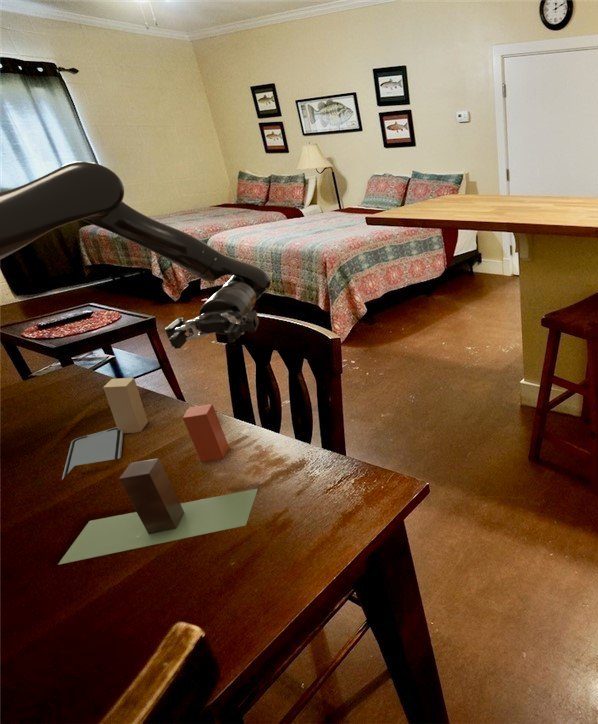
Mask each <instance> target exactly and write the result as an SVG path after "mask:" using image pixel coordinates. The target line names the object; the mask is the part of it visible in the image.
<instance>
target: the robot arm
mask: <svg viewBox="0 0 598 724" xmlns="http://www.w3.org/2000/svg"><path fill="white" fill-rule="evenodd" d="M124 198H125V186H124V184H123V181H122V179H121V178H120V177H119V176H118V175H117V174H116V172H114V171H113V170H112V169H110V168H109V167H106V166H104V165H101V164H99V163H96V162H91V161H72V162H68V163H66V164H64V165H62V166H60V167H59V168H56V169H55V170H53V171H51V172H49V173H47V174H44V175H43V176H41V177H39V178H36V179H34V180H32V181H29V182H27V183H25V184H22V185H20V186H18V187H14V188H11V189H7V190H5V191H1V192H0V260H2V259H4V258H6V257H8V256H9V255H12V254H13V253H15V252H17V251H19V250H21V249H22V248H24V247H26V246H28V245H29V244H31V243H32V242H34V241H36V240H37V239H39V238H41V237H42V236H44V235H45V234H47V233H49V232H51V231H53V230H55V229H58V228H60V227H62V226H65V225H69V224H71V223H75V222H77V221H83V222H86V223H88V224H91V225H93V226H96V227H98V228H101V229H103V230H106V231H108V232H111V233H113V234H114V235H117V236H120V237H122V238H124V239H125V240H128V241H130V242H133V243H135V244H137V245H138V246H141V247H142V248H145V249H147V250H149V251H150V252H153V253H155V254H156V255H159V256H160V257H162V258H164V259H166V260H168V261H170V262H171V263H173V264H174V265H176V266H178V267H180V268H182V269H184V270H185V271H187V272H189V273H190V274H193V275H194V276H196V277H198V278H200V279H202V280H203V281H205V282H215V281H218V280H219V279H221V278H223V277H225V276H231V277H230V279H229V280H227V282H225V284H223V286H222V287H221V288H220V289H218V291H216V292H215V293H213V294H212V295H211V296H210V297H209V298H208V299H207V300H206V301H205V302H204V304H202V305H201V307H200V310H199V314H198V316H197V317H194V318H192V319H189V320H186V321H185V318H184V317H178V318H176V319H174V321H172V322H171V323H170V324H169V325H168V326H166V327H165V328H164V331H165V333H166V336H167V338H168V341H169V342H170V344H171V347H173V349H175V350H177V349H178V350H179V349H181V348H182V347H183V346H184V345H185V344H186V343H187V341H189V340H191V339H194V340H195V339H196V340H198V339H201V338H204V337H206V336H208V335H214V334H217V335H226V338H227V340H228V343H235V342H236V340H238V339H239V338H241V336H243V335H245V332H248V333H249V334H252V333H255V332H257V329H258V327H259V324H260V320H259V315H258V313H257V310H253V308H254V307H255V305H256V303H257V301H258V300H259V299H260V297H262V296H263V295H264V293H266V292H267V291H268V289H270V287H271V285H272V279H271V278H270V276H269V274H268V273H267V272H266V271H265V270H264V269H262V268H261V267H259V266H257V265H255V264H251V263H248V262H245V261H242V260H239V259H236V258H234V257H231V256H228V255H226V254H223V253H222V252H220V251H218V250H216V249H215V248H213V247H212V246H210V245H209V244H207V243H206V242H204V241H202V240H200V239H199V238H197V237H195V236H193V235H191V234H190V233H187V232H185V231H183V230H180V229H179V228H175V227H173V226H170V225H167V224H165V223H162V222H160V221H158V220H155V219H153V218H151V217H149V216H147V215H145V214H143V213H141V212H139V210H136V209H134V208H133V207H131V206H129V205H128V204H127V203H125V202H124ZM186 333H188V334H186Z"/></svg>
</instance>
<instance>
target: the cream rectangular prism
mask: <svg viewBox="0 0 598 724" xmlns="http://www.w3.org/2000/svg"><path fill="white" fill-rule="evenodd" d="M103 391H104V394H105V397H106V400H107V402H108V406H109V408H110V411H111V414H112V417H113V420H114V423H115V425H116V426H115V427H117V429H118V430H122V431H123V434H135V433H141V432H142V431H143V430H144V429H145V427H146V426H147V425H148V423H149V422H148V418H147V415H146V412H145V408H144V405H143V402H142V399H141V395H140V392H139V389H138V387H137V383H136V379H135V377H122V378H121V377H120V378H119V377H118V378H111V379H110V380H109V381H108V382H107V383H106V384H105V385H104V386H103Z"/></svg>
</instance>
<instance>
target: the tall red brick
mask: <svg viewBox="0 0 598 724" xmlns="http://www.w3.org/2000/svg"><path fill="white" fill-rule="evenodd" d="M182 420H183V421H184V422H183V423H184V425H185V427H186V429H187V433H188V434H189V436H190V439H191V441H192V444H193V446H194V448H195V451H196V454H197V455H198V458H199V460H200V462H201V463H205V462H206V463H207V462H211V461H217V460H224V459H225V457H226V455H227V453H228V450H229V448H230V445H229V444H228V440H227V439H226V435H225V433H224V430H223V427H222V425H221V422H220V419H219V417H218V415H217V412H216V409H215V407H214V404H213V403H208V404H202V405H195V406H189V407H188V409H187V410H186V412H185V413H184V415H183V416H182Z"/></svg>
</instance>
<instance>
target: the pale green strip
mask: <svg viewBox="0 0 598 724" xmlns="http://www.w3.org/2000/svg"><path fill="white" fill-rule="evenodd" d="M258 490H259V488H254V489H253V488H252V489H248V490H244V491H239V492H233V493H228V494H222V495H218V496H211V497H206V498H202V499H196V500H191V501H187V502H180V504H181V506H182V508H183V510H184V514H183V516H182V518H181V520H180V522H179V524H178V526H177V528H176V529H172V530H167V531H162V532H157V533H152V534H148V533H147V531H146V529H145V527H144V525H143V523H142V521H141V519H140V518H139V516H138V514H137V512H136V511H133V512H129V513H124V514H119V515H113V516H108V517H102V518H98V519H93V520H89V521H88V523H86V525H85V526H84V527H83V529H82V531H81V532H80V533H79V535H78V536H77V538H75V540H74V541H73V542H72V544H71V545H70V547H69V548H68V549H67V551H66V553H65V554H64V555H63V556H62V558H61V559H60V561H59V562H58V564H57V565H58V566H60V565H63V564H69V563H73V562H80V561H83V560H89V559H93V558H98V557H102V556H107V555H111V554H116V553H121V552H126V551H130V550H136V549H140V548H145V547H150V546H155V545H159V544H164V543H169V542H174V541H179V540H184V539H188V538H192V537H198V536H203V535H206V534H207V535H208V534H211V533H217V532H221V531H226V530H231V529H237V528H241V527H246V526H247V524H248V522H249V517H250V514H251V512H252V509H253V505H254V502H255V499H256V496H257V494H258Z"/></svg>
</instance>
